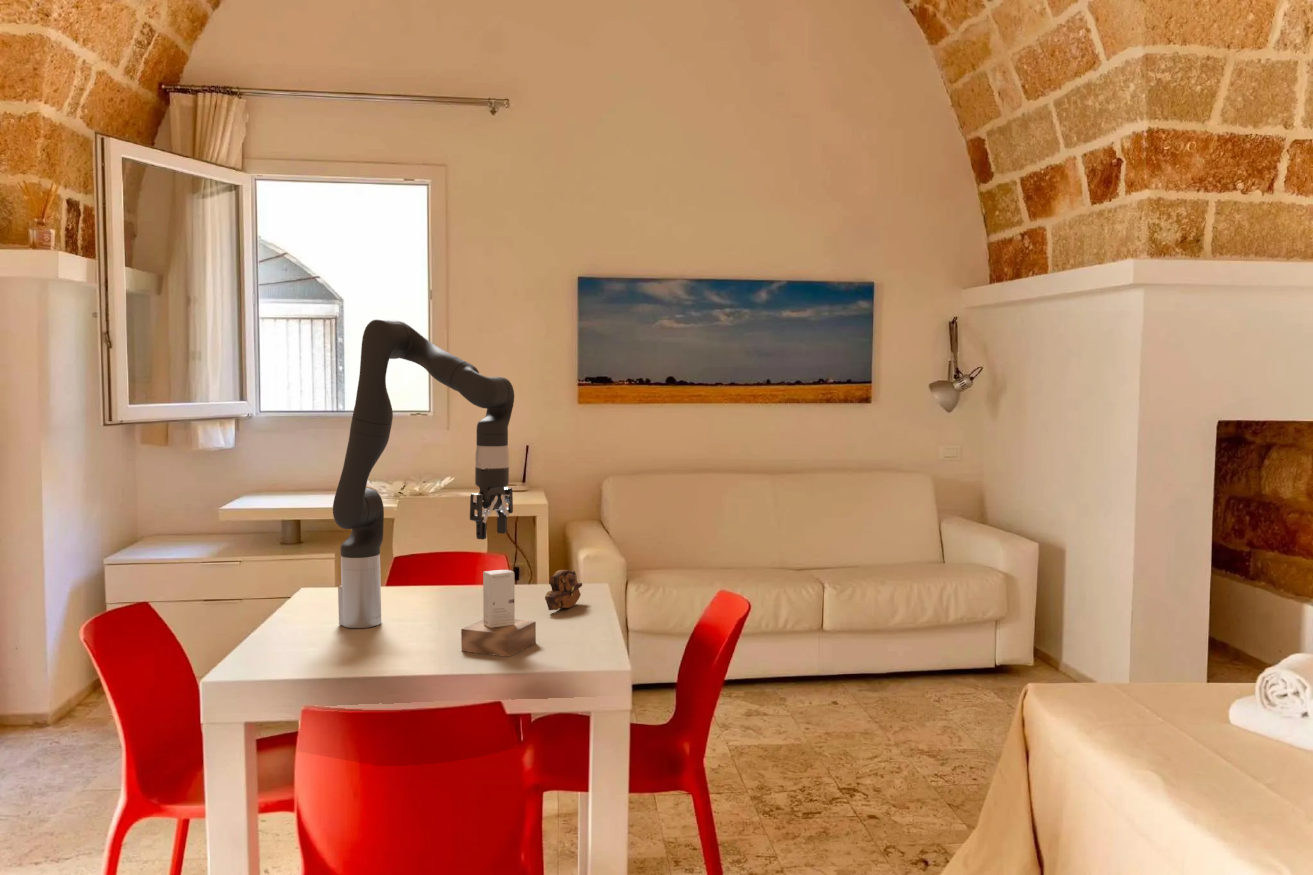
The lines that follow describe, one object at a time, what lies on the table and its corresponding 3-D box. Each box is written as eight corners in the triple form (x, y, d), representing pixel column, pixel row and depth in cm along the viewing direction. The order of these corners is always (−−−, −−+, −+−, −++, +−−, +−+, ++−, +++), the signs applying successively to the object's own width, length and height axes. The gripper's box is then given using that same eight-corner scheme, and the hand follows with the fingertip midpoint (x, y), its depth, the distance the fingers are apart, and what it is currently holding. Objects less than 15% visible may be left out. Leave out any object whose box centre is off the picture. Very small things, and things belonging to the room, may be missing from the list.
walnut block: (461, 651, 222) (461, 628, 222) (490, 637, 233) (490, 616, 233) (508, 656, 218) (508, 634, 217) (535, 643, 229) (535, 621, 228)
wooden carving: (560, 616, 254) (559, 577, 253) (543, 615, 255) (543, 576, 254) (585, 602, 269) (585, 565, 269) (569, 600, 271) (569, 564, 270)
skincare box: (490, 628, 222) (490, 574, 221) (482, 624, 225) (481, 571, 225) (516, 624, 225) (515, 571, 224) (507, 620, 229) (506, 568, 228)
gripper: (495, 461, 235) (494, 530, 236) (460, 467, 222) (459, 539, 223) (522, 463, 232) (522, 532, 233) (489, 469, 219) (488, 542, 220)
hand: (491, 536), depth 228 cm, fingers open, 8 cm apart
